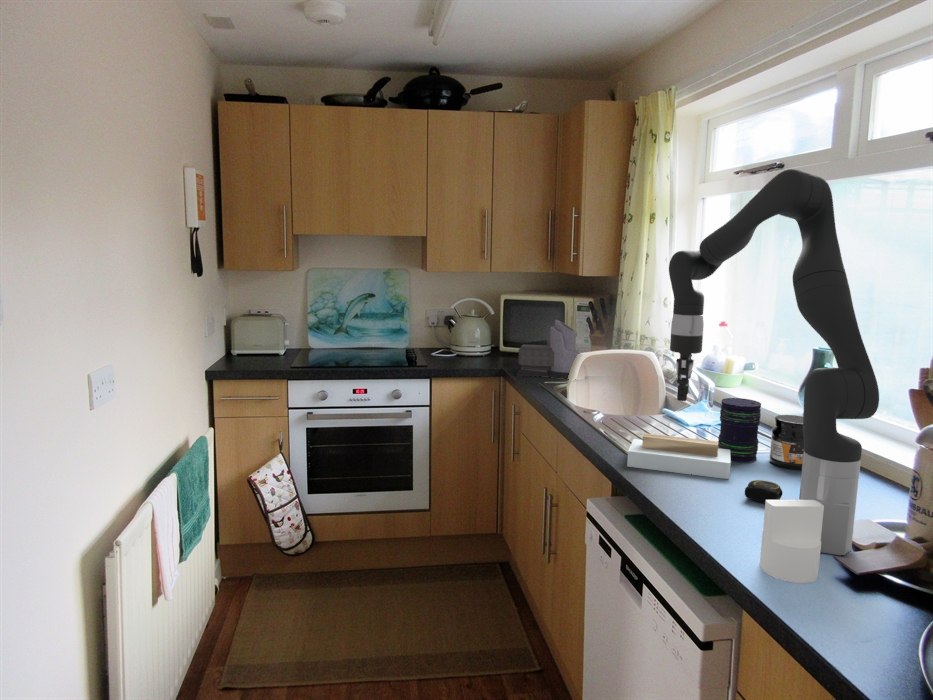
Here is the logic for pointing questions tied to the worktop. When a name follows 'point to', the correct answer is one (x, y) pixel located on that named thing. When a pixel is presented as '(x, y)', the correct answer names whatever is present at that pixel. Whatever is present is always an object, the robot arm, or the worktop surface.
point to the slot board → (680, 461)
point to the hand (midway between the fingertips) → (682, 397)
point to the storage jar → (740, 428)
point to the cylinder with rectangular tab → (792, 539)
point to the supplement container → (787, 442)
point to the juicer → (550, 354)
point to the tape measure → (763, 491)
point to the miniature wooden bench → (680, 444)
